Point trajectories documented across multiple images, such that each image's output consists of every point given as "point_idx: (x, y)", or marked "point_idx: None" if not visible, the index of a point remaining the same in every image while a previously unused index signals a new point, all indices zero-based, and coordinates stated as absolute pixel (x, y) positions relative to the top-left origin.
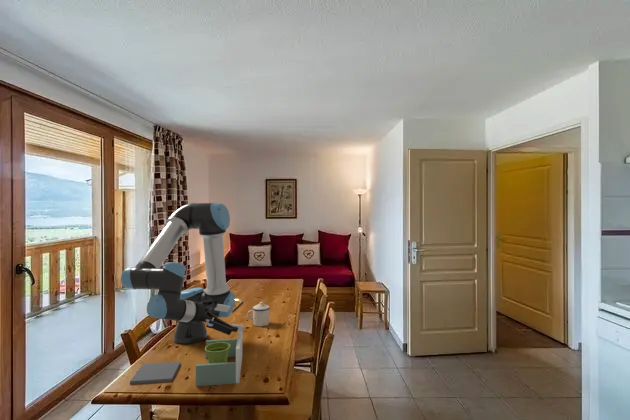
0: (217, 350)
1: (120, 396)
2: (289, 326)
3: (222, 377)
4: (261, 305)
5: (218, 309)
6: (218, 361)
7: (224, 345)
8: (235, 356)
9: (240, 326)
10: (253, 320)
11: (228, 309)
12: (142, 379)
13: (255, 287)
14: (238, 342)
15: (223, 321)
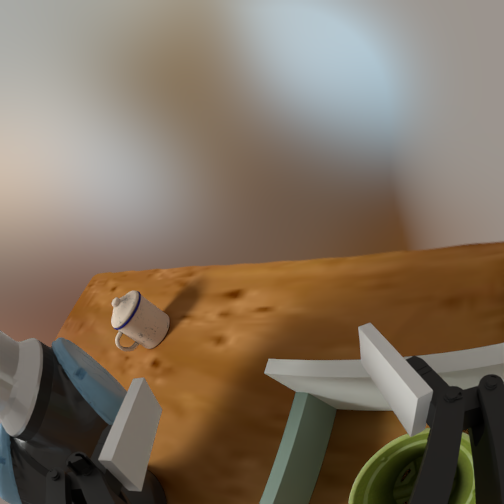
0: (372, 494)
1: None
2: (201, 272)
3: None
4: (122, 303)
5: (141, 463)
6: (467, 478)
7: (378, 463)
8: (333, 422)
9: (387, 342)
10: (143, 342)
11: (152, 396)
12: None
13: (62, 327)
14: None
15: (432, 468)
